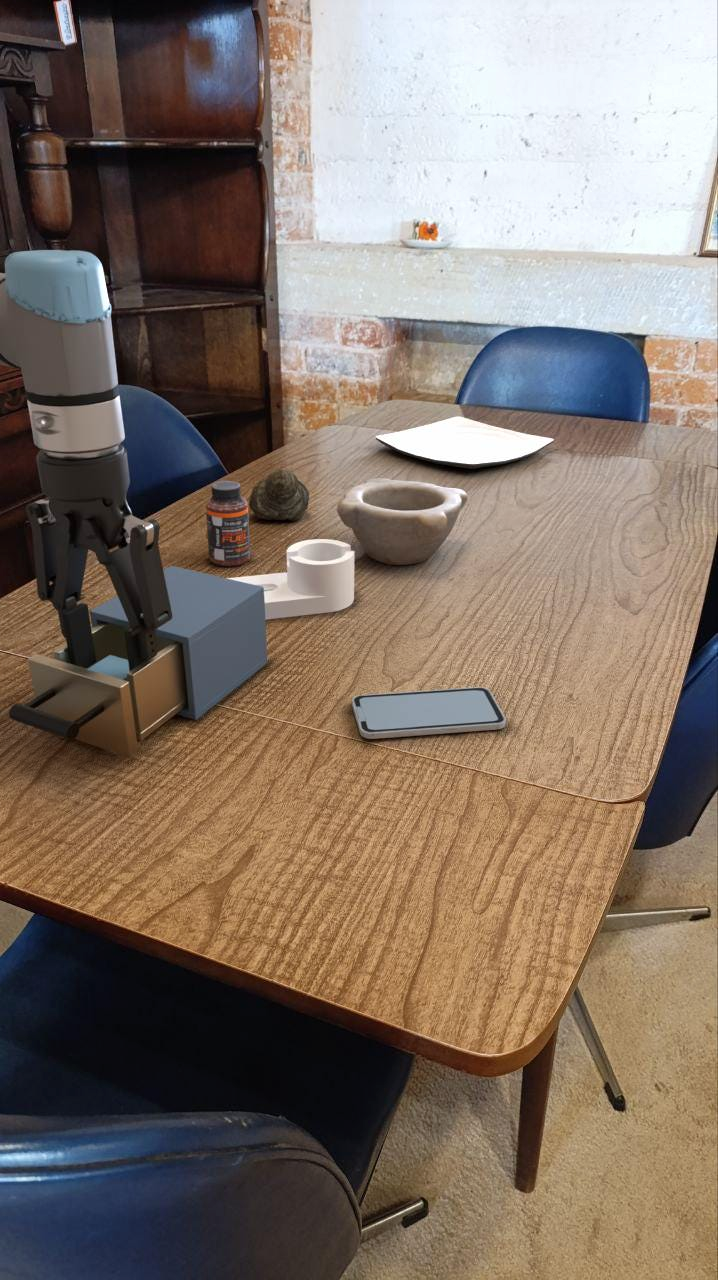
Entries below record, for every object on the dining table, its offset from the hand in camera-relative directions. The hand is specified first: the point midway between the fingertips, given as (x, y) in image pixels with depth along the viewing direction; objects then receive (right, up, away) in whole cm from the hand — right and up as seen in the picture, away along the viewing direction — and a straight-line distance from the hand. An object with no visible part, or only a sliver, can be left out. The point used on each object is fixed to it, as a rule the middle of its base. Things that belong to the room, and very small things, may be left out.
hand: (113, 675), depth 86 cm
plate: (+46, +42, +92) cm, 111 cm away
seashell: (+12, +25, +59) cm, 65 cm away
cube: (0, -3, +2) cm, 4 cm away
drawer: (-1, -5, +1) cm, 5 cm away
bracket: (+14, +8, +28) cm, 33 cm away
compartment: (+5, -1, +11) cm, 12 cm away
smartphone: (+31, -4, +4) cm, 32 cm away
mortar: (+31, +16, +44) cm, 56 cm away
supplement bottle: (+5, +15, +41) cm, 44 cm away
